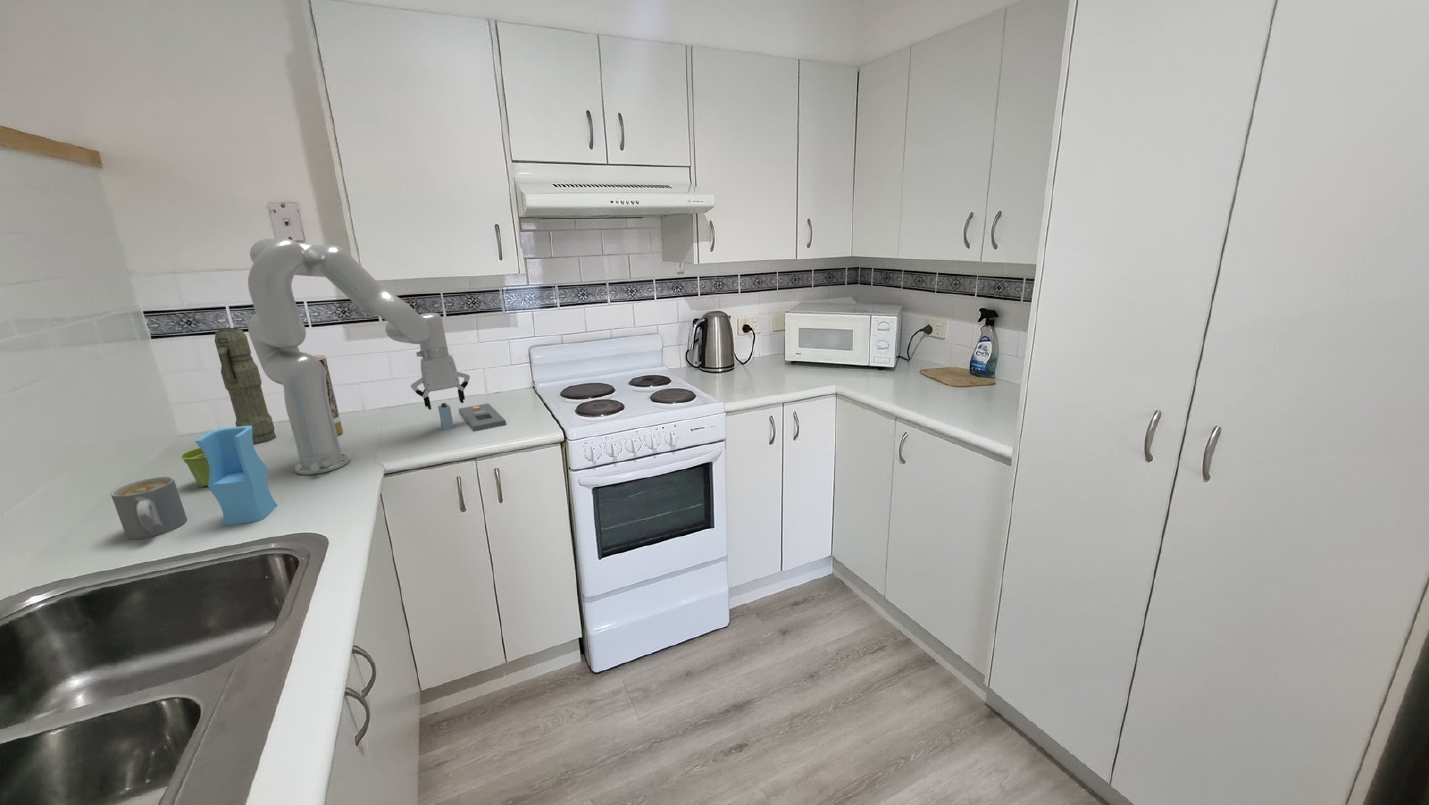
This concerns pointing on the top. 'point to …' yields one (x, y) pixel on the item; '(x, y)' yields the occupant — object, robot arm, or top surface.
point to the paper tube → (331, 395)
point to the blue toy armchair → (237, 475)
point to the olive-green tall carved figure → (243, 384)
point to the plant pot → (197, 465)
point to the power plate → (482, 417)
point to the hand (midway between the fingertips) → (445, 405)
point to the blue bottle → (445, 416)
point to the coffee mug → (149, 507)
